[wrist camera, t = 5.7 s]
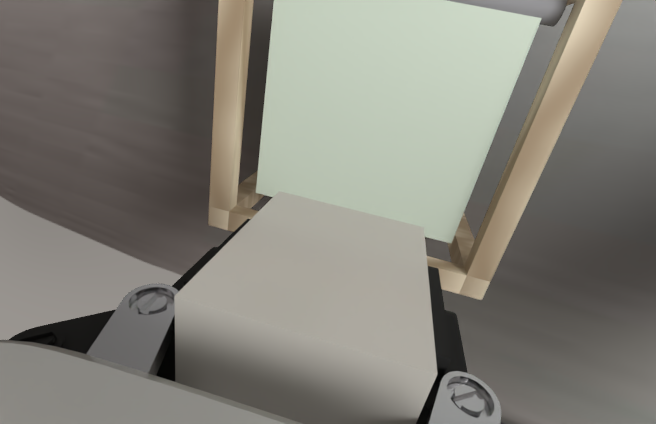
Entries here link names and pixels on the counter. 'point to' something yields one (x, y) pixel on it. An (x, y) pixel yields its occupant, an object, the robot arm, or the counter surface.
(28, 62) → the counter surface
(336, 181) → the trapdoor
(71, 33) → the counter surface
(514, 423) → the counter surface
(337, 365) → the cube
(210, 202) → the frame
